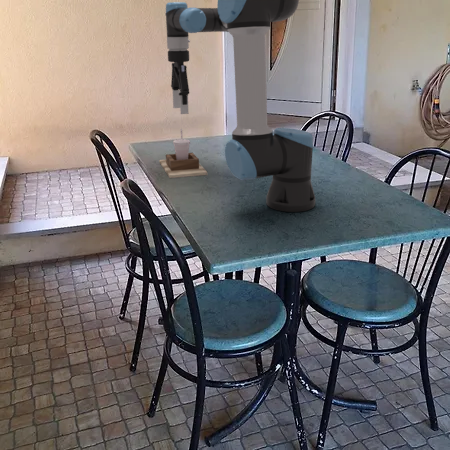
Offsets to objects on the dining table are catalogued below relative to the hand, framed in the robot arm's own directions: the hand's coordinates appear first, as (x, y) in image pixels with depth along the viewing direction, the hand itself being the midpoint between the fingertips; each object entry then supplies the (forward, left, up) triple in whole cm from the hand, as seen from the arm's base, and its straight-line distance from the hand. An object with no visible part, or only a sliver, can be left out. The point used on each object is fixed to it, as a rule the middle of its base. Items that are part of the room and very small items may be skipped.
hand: (180, 110), depth 193 cm
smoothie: (0, 0, -21) cm, 21 cm away
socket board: (0, 0, -22) cm, 22 cm away
